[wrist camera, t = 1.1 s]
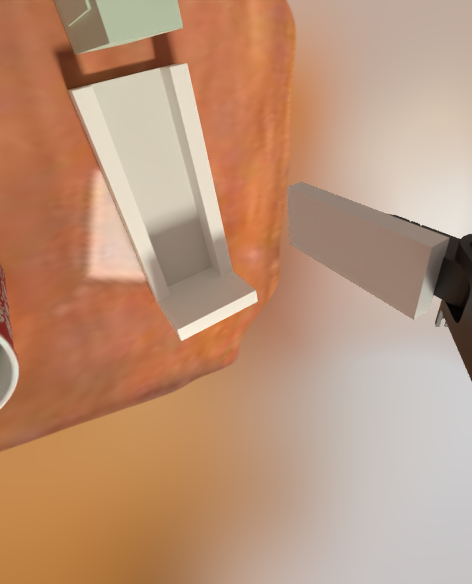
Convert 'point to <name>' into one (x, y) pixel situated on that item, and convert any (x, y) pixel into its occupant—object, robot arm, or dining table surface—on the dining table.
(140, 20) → the door panel
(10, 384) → the mug
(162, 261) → the track
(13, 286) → the dining table surface
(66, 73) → the dining table surface
